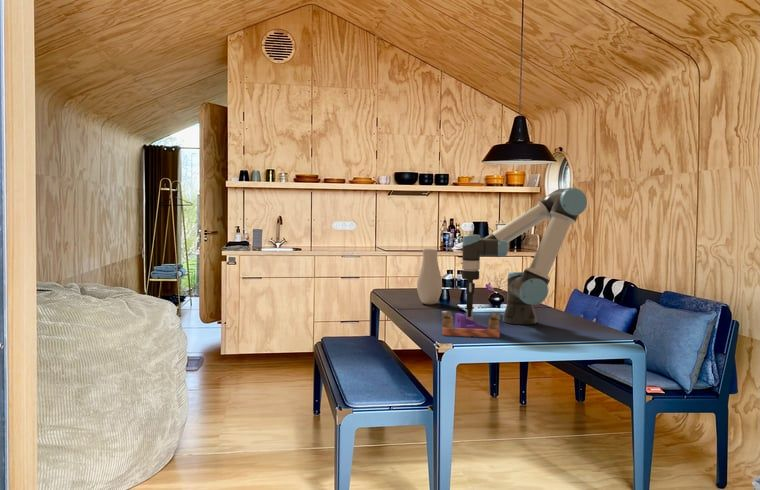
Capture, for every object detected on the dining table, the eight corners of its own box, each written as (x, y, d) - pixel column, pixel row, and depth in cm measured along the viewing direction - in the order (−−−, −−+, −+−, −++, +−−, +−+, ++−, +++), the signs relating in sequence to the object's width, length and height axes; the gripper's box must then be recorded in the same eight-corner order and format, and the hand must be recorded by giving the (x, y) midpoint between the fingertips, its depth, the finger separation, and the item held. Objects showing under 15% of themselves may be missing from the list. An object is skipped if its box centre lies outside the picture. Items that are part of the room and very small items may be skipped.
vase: (429, 301, 345) (430, 248, 343) (447, 304, 334) (448, 249, 333) (411, 303, 336) (412, 248, 334) (429, 306, 325) (430, 250, 324)
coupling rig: (499, 332, 256) (499, 311, 256) (500, 337, 246) (501, 315, 246) (441, 330, 260) (442, 309, 259) (440, 335, 249) (441, 313, 249)
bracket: (460, 331, 258) (460, 315, 258) (455, 328, 265) (455, 313, 265) (487, 331, 261) (487, 315, 261) (481, 328, 268) (481, 312, 267)
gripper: (462, 268, 273) (460, 320, 274) (461, 271, 260) (460, 326, 261) (479, 269, 272) (477, 321, 273) (479, 271, 259) (478, 327, 260)
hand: (469, 323), depth 267 cm, fingers closed
